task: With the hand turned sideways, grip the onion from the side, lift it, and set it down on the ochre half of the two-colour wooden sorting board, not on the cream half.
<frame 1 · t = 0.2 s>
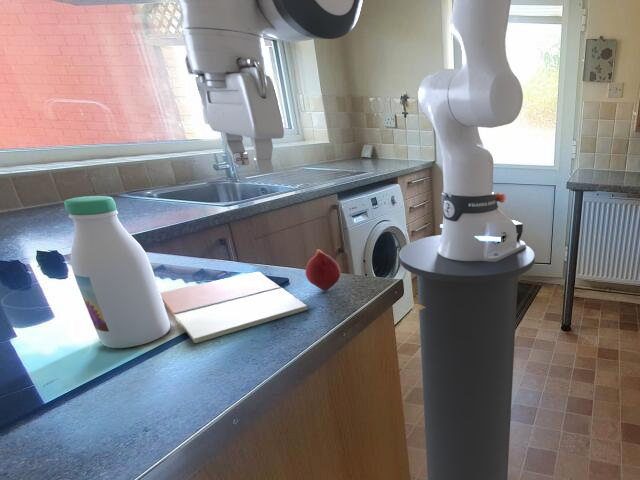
hand: (252, 168, 59), 23 cm above the counter, tool pointing down, fingers open, 8 cm apart
onion: (325, 290, 77), on the counter
milk bottle: (138, 337, 60), on the counter
sorting board: (232, 303, 70), on the counter
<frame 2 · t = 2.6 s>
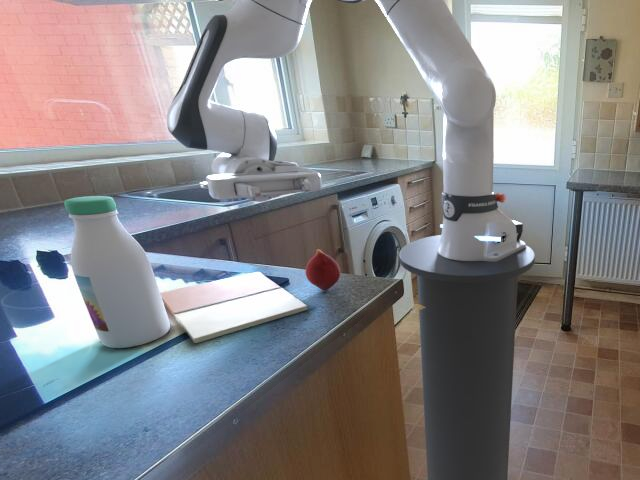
hand: (283, 189, 78), 17 cm above the counter, tool horizontal, fingers open, 8 cm apart
nothing on the counter moved.
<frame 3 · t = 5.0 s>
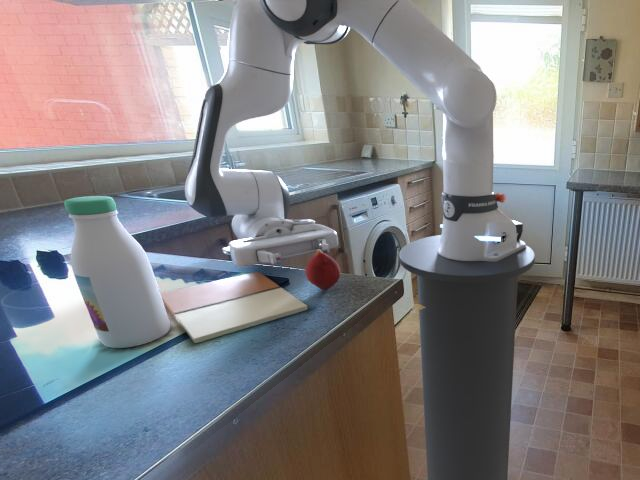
hand: (302, 254, 80), 5 cm above the counter, tool horizontal, fingers open, 8 cm apart
nothing on the counter moved.
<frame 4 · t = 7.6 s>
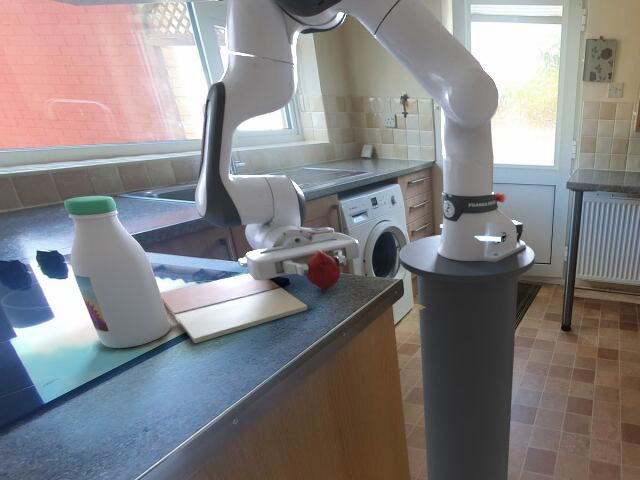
hand: (324, 266, 75), 5 cm above the counter, tool horizontal, fingers closed on onion, 5 cm apart
onion: (325, 291, 77), on the counter, touching gripper
everything else where it was.
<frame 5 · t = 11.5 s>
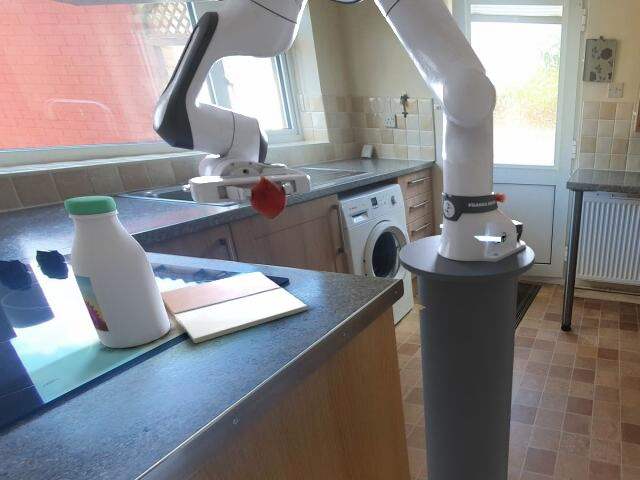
hand: (269, 193, 74), 17 cm above the counter, tool horizontal, fingers closed on onion, 5 cm apart
onion: (272, 220, 77), point 12 cm above the counter, touching gripper
everything else where it was.
when the fingers open (6 cm above the counter, at t = 15.8 s): onion stays where it is, resting on sorting board.
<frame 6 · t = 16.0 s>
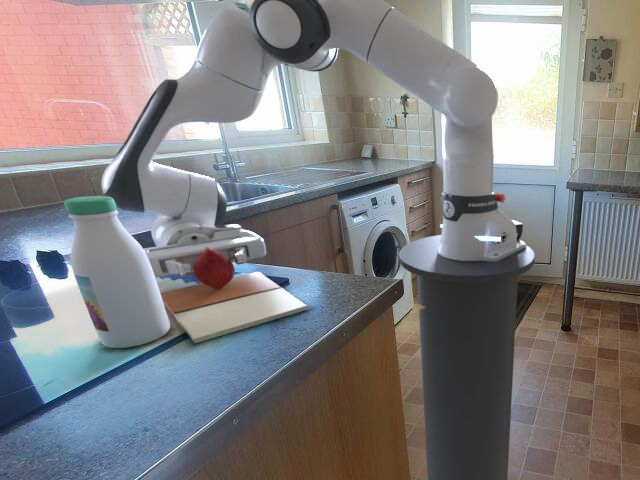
hand: (215, 265, 71), 6 cm above the counter, tool horizontal, fingers open, 7 cm apart
onion: (219, 290, 74), point 1 cm above the counter, touching sorting board
everything else where it was.
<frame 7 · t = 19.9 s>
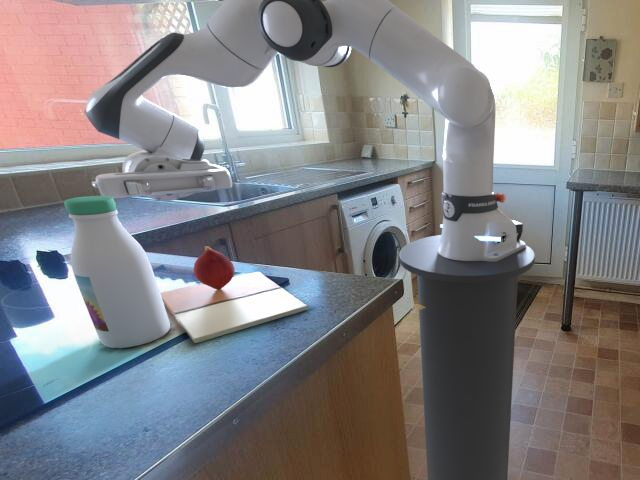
hand: (178, 187, 74), 17 cm above the counter, tool horizontal, fingers open, 8 cm apart
nothing on the counter moved.
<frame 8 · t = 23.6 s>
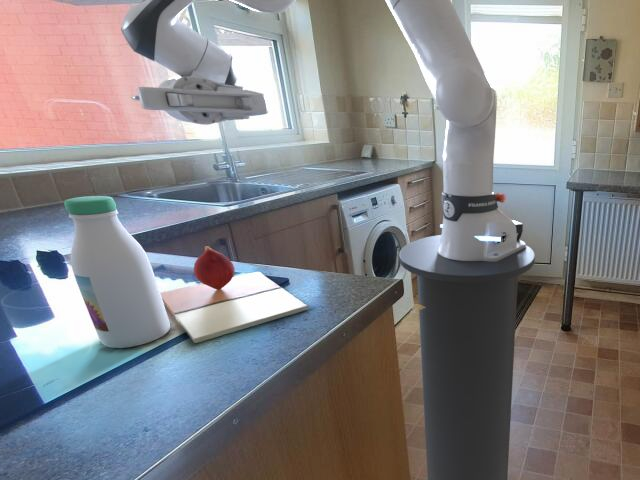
hand: (219, 101, 74), 32 cm above the counter, tool horizontal, fingers open, 8 cm apart
nothing on the counter moved.
at the end: onion inside the target area (0.6 cm from its centre), point 0.6 cm above the counter; the gripper is holding nothing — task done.
